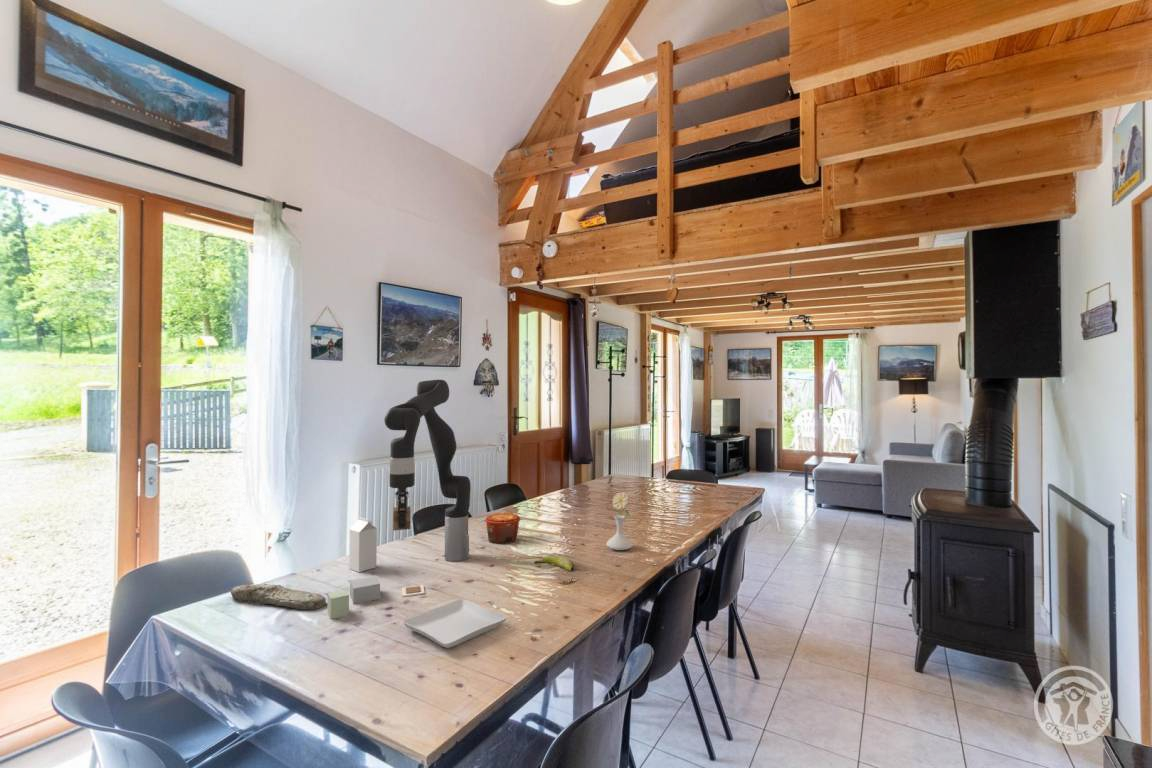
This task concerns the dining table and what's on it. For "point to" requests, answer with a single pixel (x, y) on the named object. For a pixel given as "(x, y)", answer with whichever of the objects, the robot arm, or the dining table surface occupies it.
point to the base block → (364, 589)
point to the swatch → (413, 591)
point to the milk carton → (362, 545)
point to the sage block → (338, 604)
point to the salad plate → (454, 622)
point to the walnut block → (395, 519)
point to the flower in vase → (620, 524)
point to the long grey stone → (278, 596)
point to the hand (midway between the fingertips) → (401, 525)
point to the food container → (502, 527)
